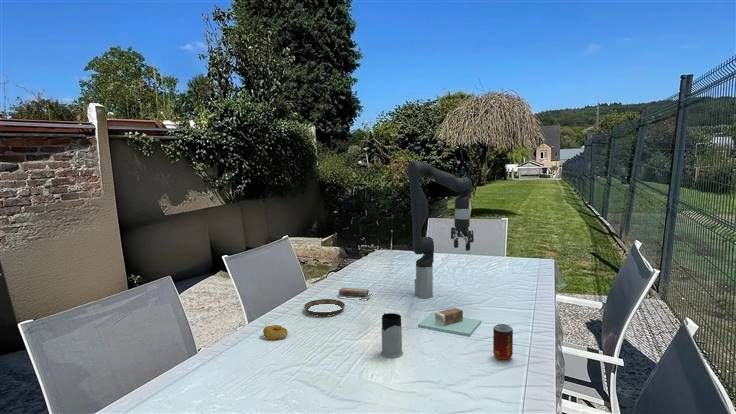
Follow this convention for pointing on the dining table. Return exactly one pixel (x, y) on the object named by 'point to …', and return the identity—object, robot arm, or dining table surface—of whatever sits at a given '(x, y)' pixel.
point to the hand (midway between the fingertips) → (461, 249)
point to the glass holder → (391, 336)
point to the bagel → (275, 332)
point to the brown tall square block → (448, 317)
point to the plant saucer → (324, 301)
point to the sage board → (451, 325)
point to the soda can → (503, 342)
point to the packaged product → (354, 293)
